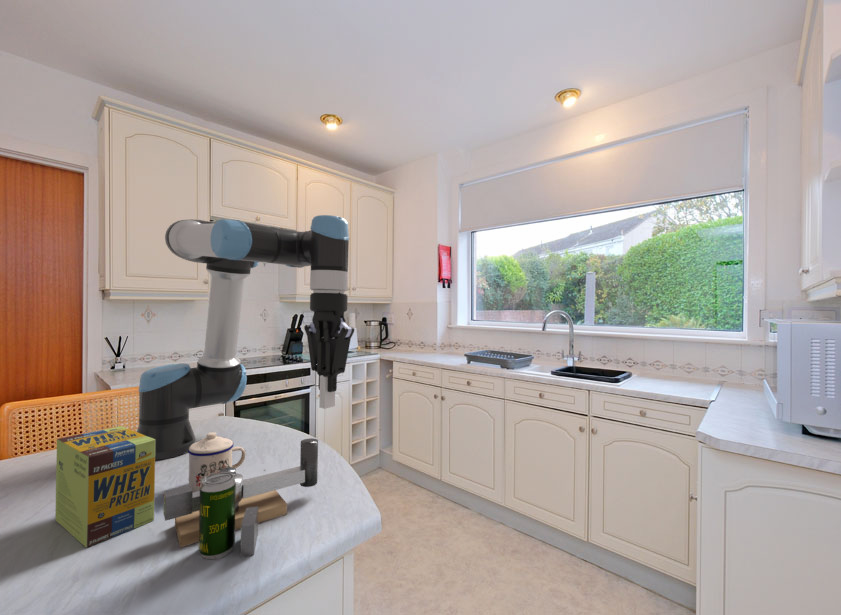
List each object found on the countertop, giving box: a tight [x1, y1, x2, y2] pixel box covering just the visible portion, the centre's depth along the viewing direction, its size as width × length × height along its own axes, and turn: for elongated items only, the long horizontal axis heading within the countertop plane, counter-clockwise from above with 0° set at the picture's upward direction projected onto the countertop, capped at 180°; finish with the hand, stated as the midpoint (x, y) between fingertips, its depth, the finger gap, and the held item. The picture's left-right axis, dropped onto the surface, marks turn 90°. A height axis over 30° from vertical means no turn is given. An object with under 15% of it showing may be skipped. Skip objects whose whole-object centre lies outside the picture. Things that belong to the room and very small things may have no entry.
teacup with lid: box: [187, 431, 247, 493], centre depth 89 cm, size 12×9×12 cm
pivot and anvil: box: [220, 467, 259, 558], centre depth 70 cm, size 15×6×10 cm, turn 38°
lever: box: [163, 438, 319, 522], centre depth 76 cm, size 28×5×9 cm, turn 128°
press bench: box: [174, 490, 288, 548], centre depth 74 cm, size 8×18×2 cm, turn 128°
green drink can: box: [198, 472, 236, 560], centre depth 65 cm, size 5×5×12 cm
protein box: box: [54, 425, 156, 549], centre depth 73 cm, size 10×15×16 cm
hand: (327, 406), depth 80 cm, fingers closed
